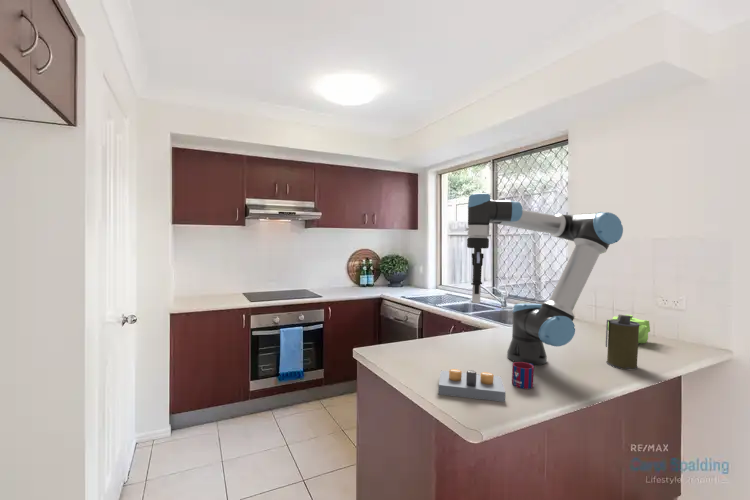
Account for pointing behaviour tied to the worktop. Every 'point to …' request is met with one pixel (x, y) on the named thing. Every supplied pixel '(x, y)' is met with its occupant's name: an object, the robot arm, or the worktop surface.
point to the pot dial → (471, 378)
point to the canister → (622, 342)
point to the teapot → (640, 329)
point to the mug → (522, 375)
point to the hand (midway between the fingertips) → (476, 302)
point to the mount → (472, 388)
